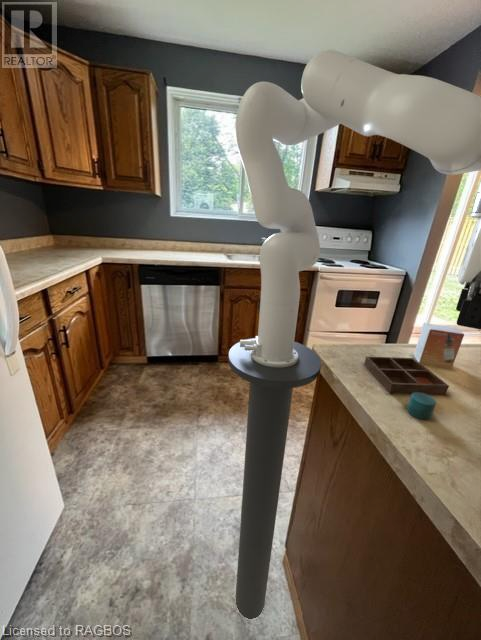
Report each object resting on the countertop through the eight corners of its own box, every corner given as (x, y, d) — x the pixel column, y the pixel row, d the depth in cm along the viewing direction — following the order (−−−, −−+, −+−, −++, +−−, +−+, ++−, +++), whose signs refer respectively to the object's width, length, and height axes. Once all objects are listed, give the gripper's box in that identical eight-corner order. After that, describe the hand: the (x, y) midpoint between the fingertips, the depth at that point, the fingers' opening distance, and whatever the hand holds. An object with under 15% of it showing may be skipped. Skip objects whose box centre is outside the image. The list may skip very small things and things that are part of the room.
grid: (389, 393, 61) (392, 384, 60) (364, 364, 73) (365, 356, 72) (445, 395, 61) (449, 385, 60) (411, 366, 74) (413, 358, 73)
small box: (418, 364, 75) (429, 329, 71) (413, 355, 80) (423, 322, 76) (452, 370, 72) (465, 334, 69) (444, 360, 78) (456, 326, 74)
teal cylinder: (414, 419, 53) (420, 404, 52) (402, 406, 57) (406, 391, 56) (435, 420, 53) (441, 405, 52) (422, 406, 57) (426, 392, 56)
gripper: (470, 210, 48) (441, 303, 54) (476, 202, 35) (438, 327, 40) (529, 210, 44) (491, 311, 49) (562, 202, 30) (505, 341, 36)
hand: (467, 318), depth 45 cm, fingers open, 9 cm apart
